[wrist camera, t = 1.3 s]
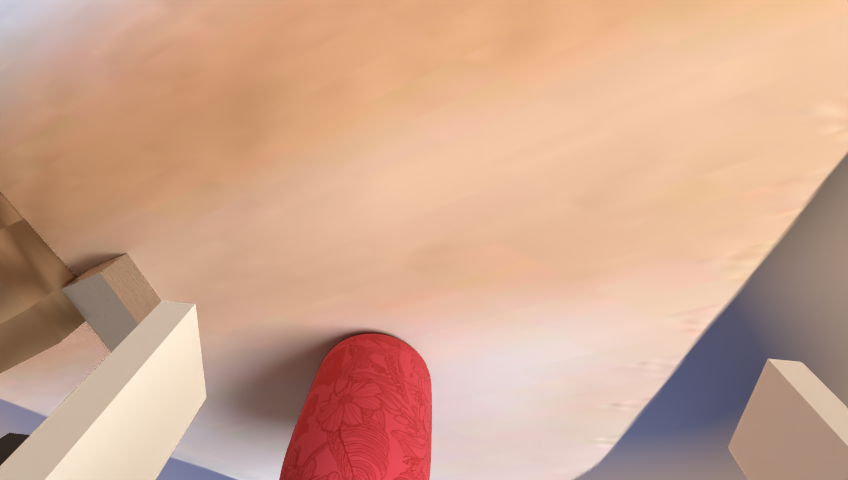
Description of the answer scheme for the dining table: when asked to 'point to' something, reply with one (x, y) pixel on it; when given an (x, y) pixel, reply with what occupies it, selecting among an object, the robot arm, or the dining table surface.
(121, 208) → the dining table surface
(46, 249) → the socket block
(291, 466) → the wine bottle
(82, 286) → the grey bar
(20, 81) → the dining table surface
